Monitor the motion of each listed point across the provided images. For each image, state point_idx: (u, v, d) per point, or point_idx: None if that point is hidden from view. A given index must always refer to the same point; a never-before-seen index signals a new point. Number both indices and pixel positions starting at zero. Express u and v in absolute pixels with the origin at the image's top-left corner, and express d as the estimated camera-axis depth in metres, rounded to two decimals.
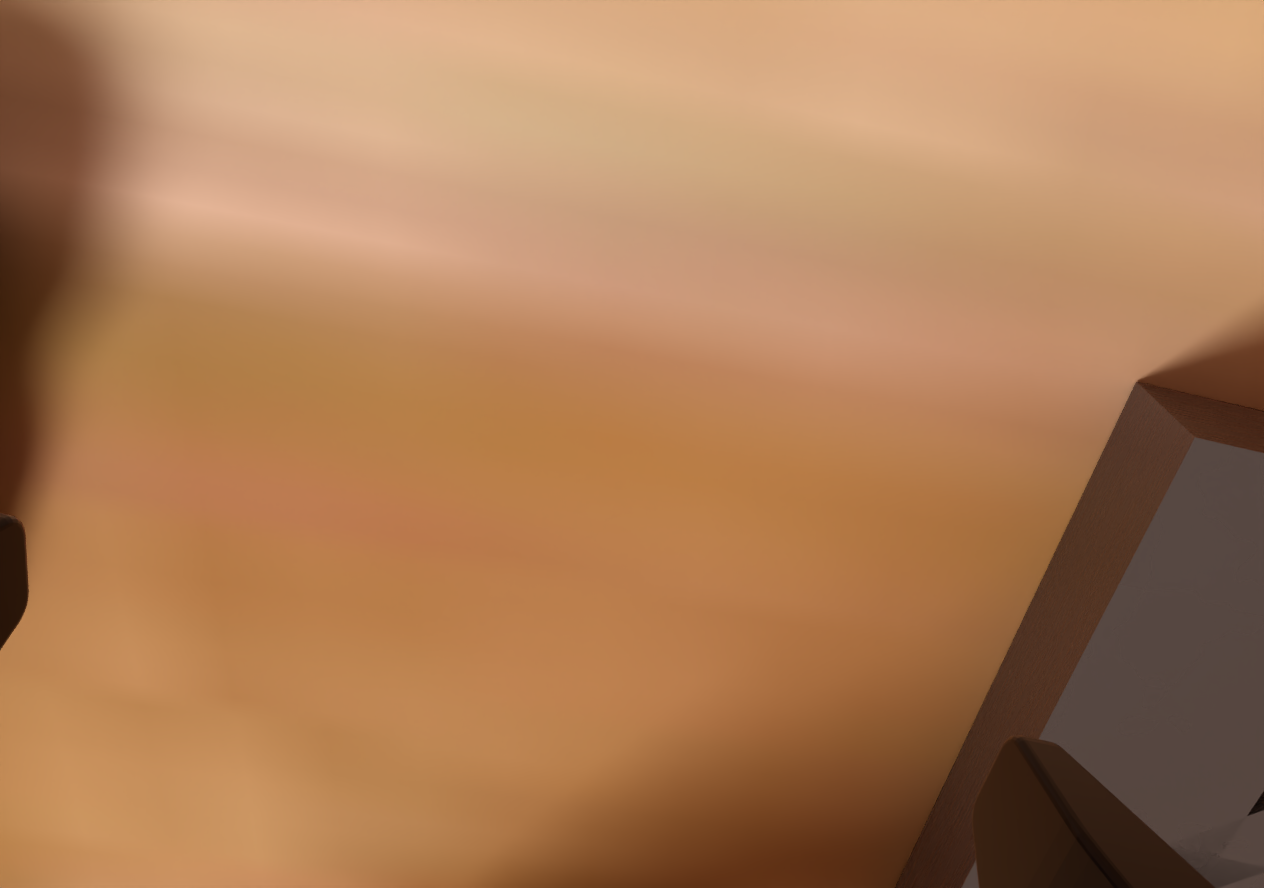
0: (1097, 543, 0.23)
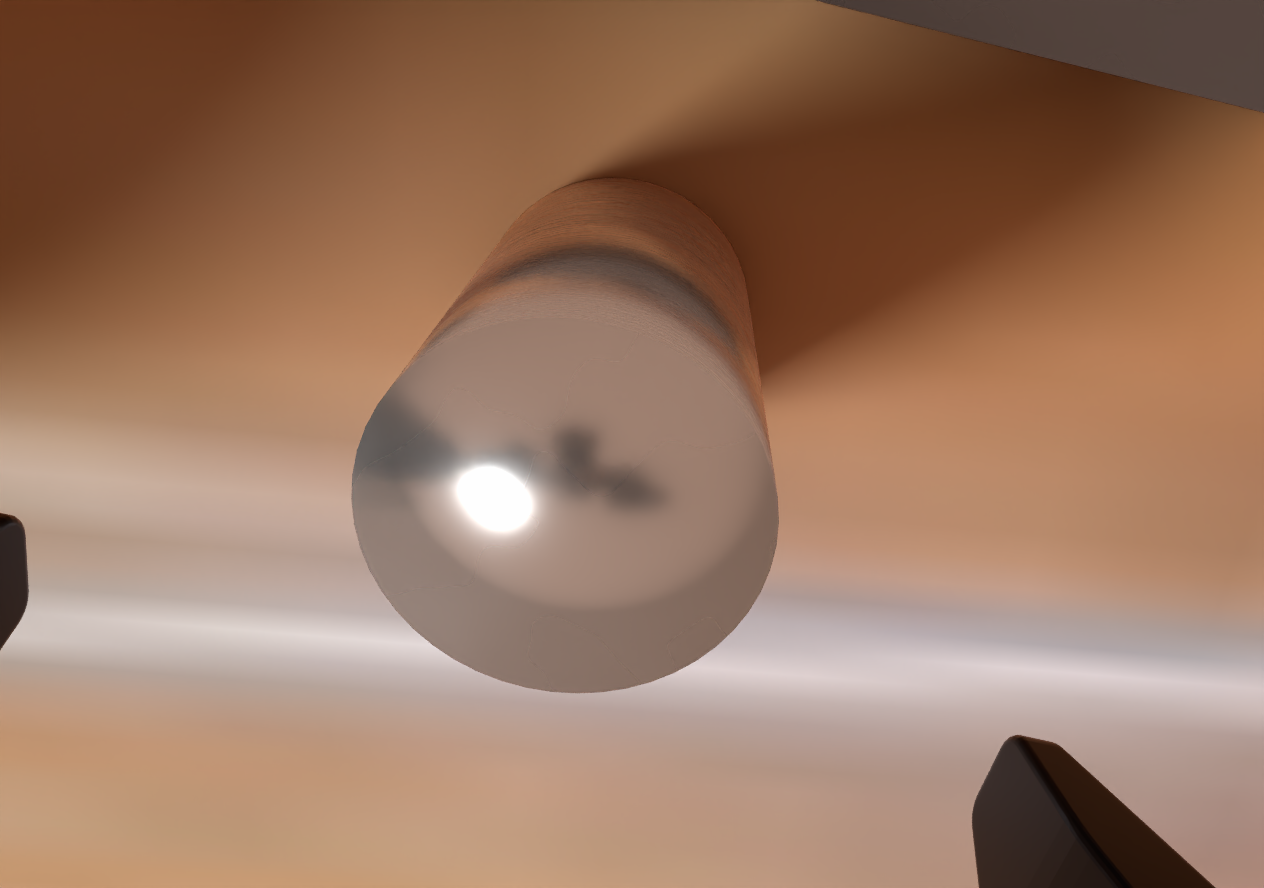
0: None
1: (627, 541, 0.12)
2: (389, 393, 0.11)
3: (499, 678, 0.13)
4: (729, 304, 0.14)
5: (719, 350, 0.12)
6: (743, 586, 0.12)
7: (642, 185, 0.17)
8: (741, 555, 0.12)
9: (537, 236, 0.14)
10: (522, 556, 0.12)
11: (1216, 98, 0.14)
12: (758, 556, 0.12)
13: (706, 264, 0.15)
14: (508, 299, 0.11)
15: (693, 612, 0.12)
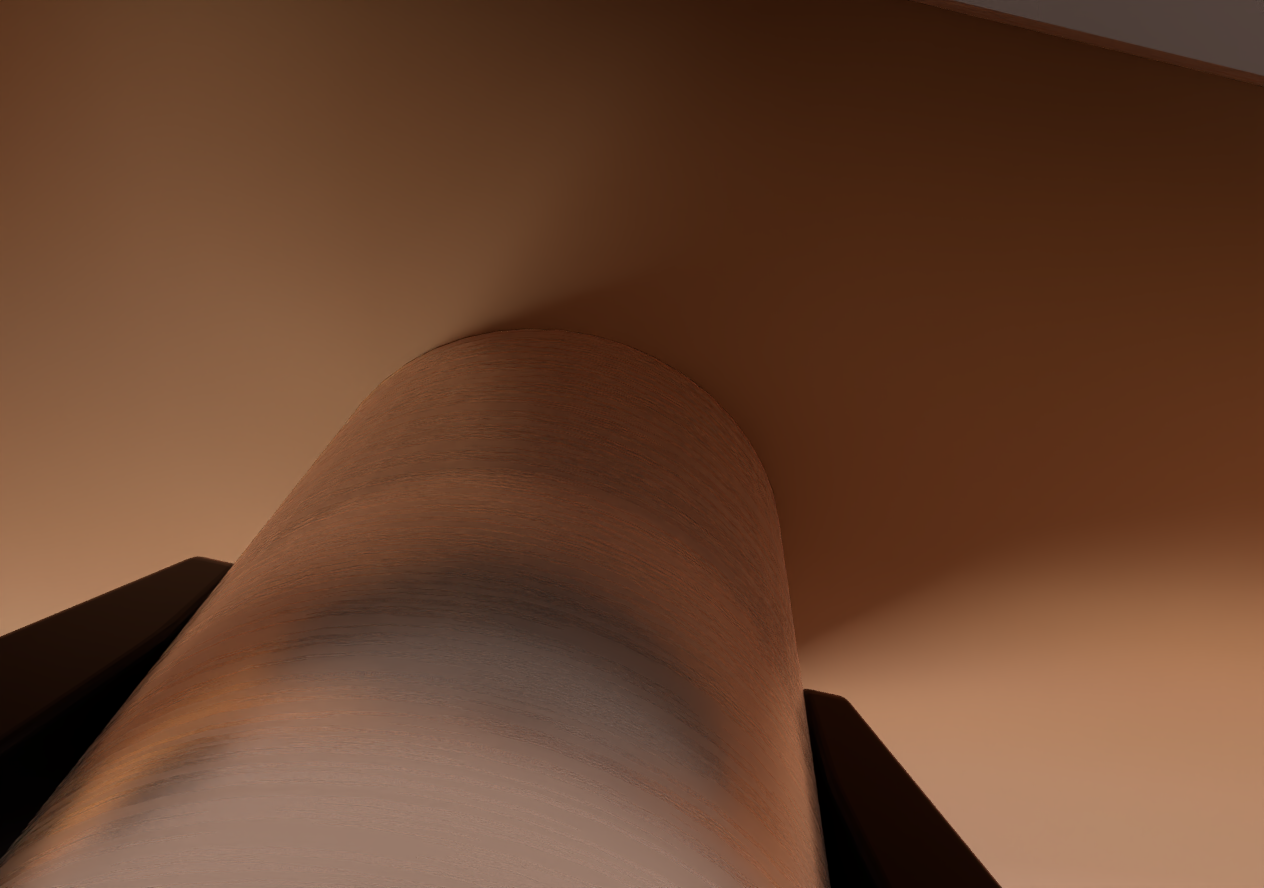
0: None
1: None
2: None
3: None
4: (757, 708, 0.06)
5: None
6: None
7: (585, 349, 0.09)
8: None
9: (320, 544, 0.06)
10: None
11: None
12: None
13: (704, 585, 0.07)
14: None
15: None
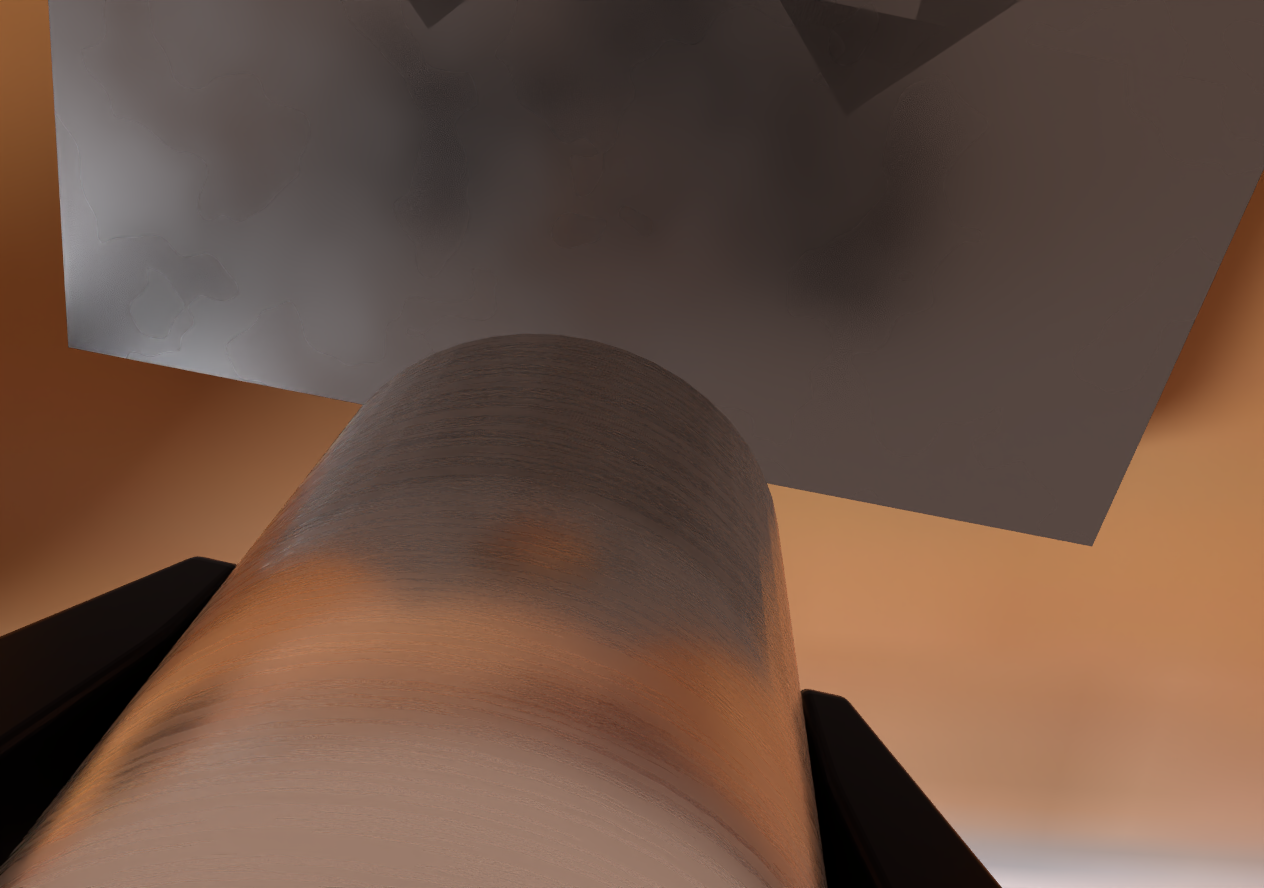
0: None
1: None
2: None
3: None
4: (754, 714, 0.06)
5: None
6: None
7: (584, 353, 0.09)
8: None
9: (319, 550, 0.06)
10: None
11: (953, 518, 0.17)
12: None
13: (702, 590, 0.07)
14: None
15: None
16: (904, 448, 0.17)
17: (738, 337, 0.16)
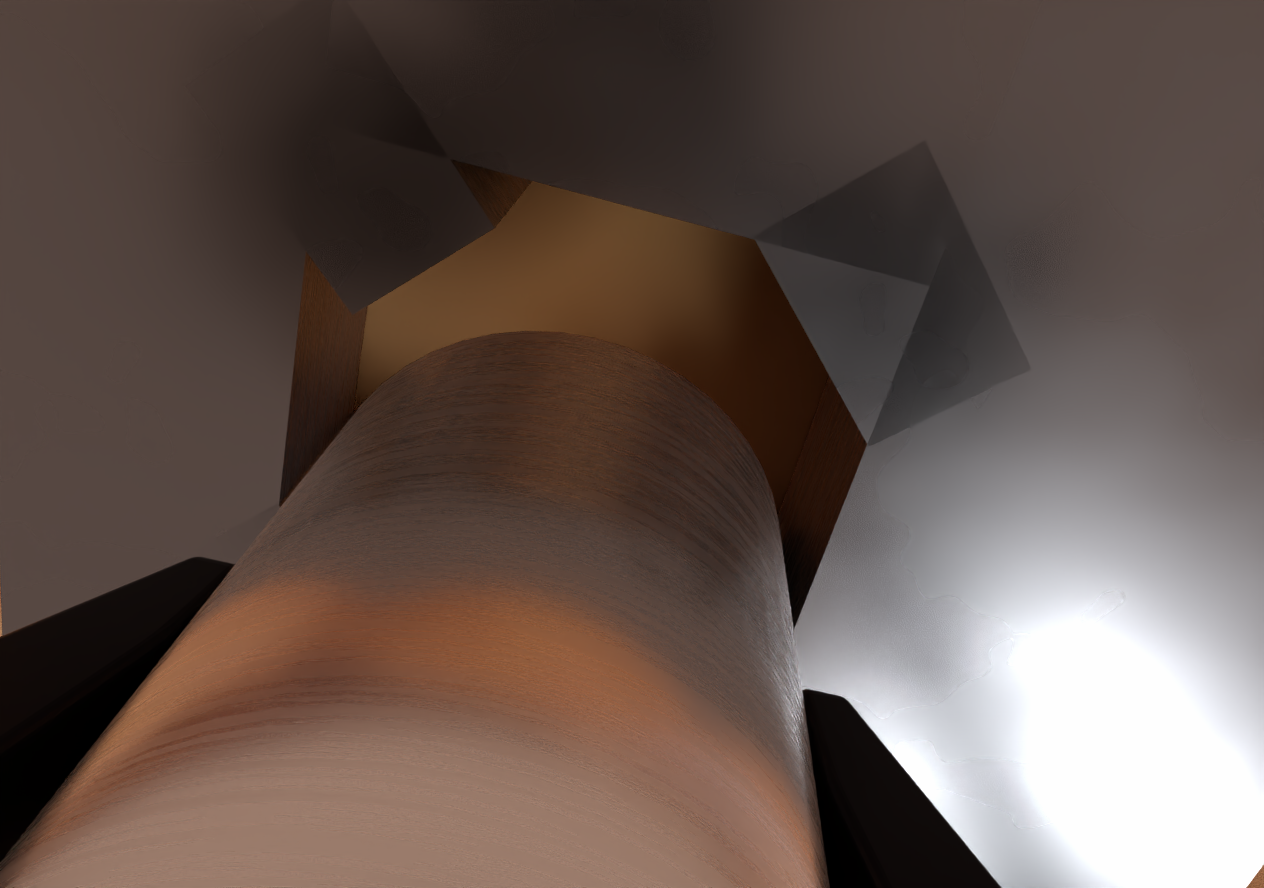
0: None
1: None
2: None
3: None
4: (756, 711, 0.06)
5: None
6: None
7: (584, 350, 0.09)
8: None
9: (318, 547, 0.06)
10: None
11: None
12: None
13: (703, 588, 0.07)
14: None
15: None
16: None
17: None
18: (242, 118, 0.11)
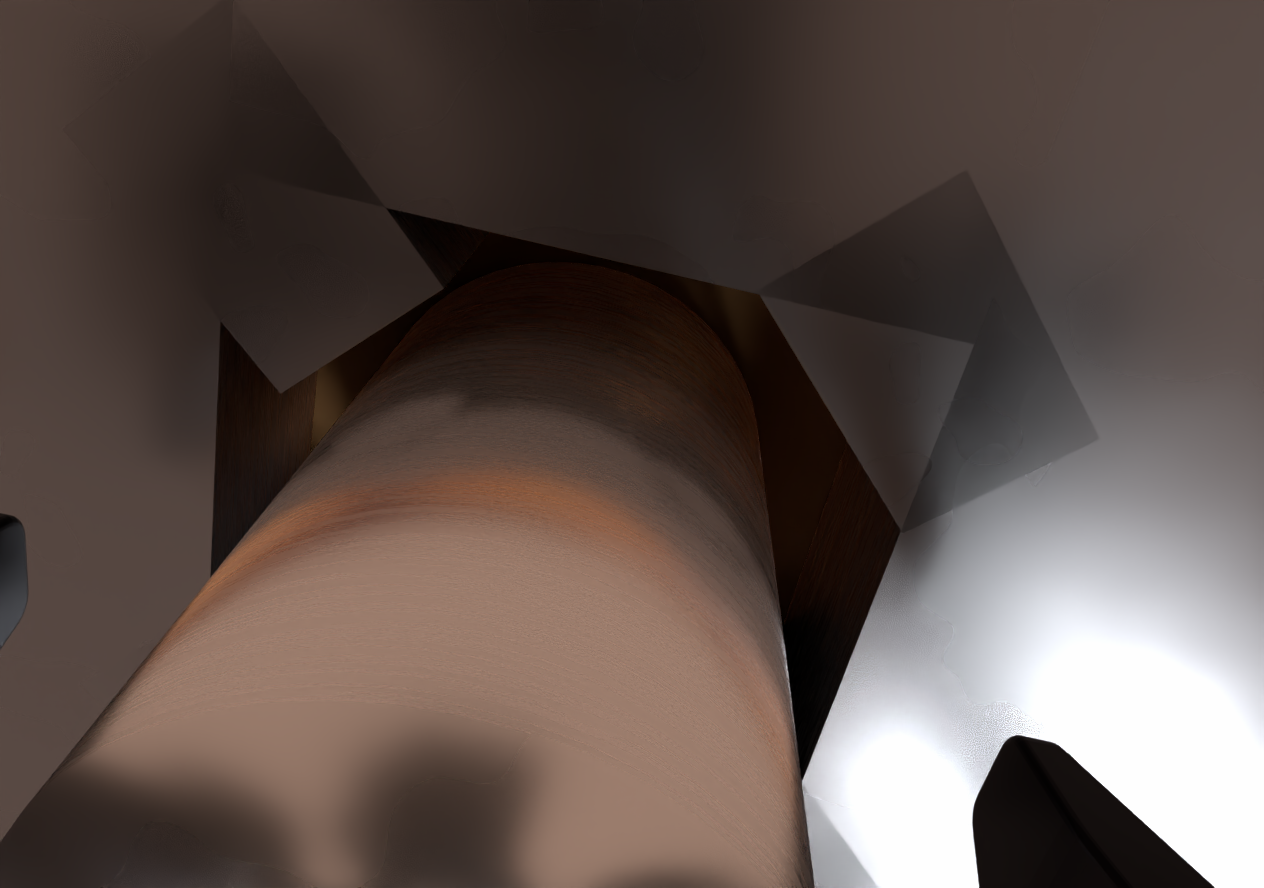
0: None
1: None
2: (18, 826, 0.05)
3: None
4: (730, 511, 0.08)
5: (710, 686, 0.06)
6: None
7: (598, 275, 0.12)
8: None
9: (407, 395, 0.09)
10: None
11: None
12: None
13: (691, 432, 0.09)
14: (282, 605, 0.06)
15: None
16: None
17: None
18: (133, 164, 0.09)
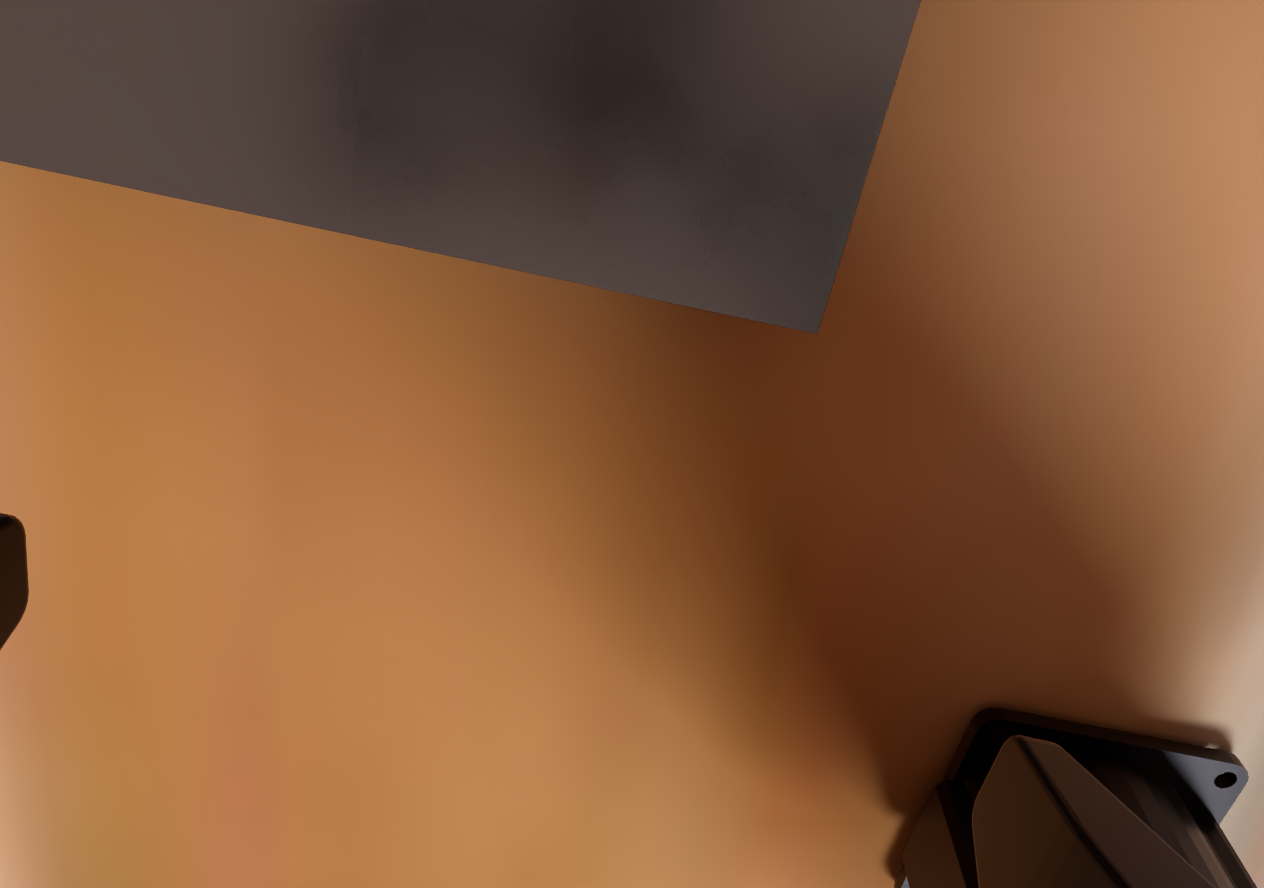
0: None
1: None
2: None
3: None
4: None
5: None
6: None
7: None
8: None
9: None
10: None
11: None
12: None
13: None
14: None
15: None
16: None
17: None
18: None
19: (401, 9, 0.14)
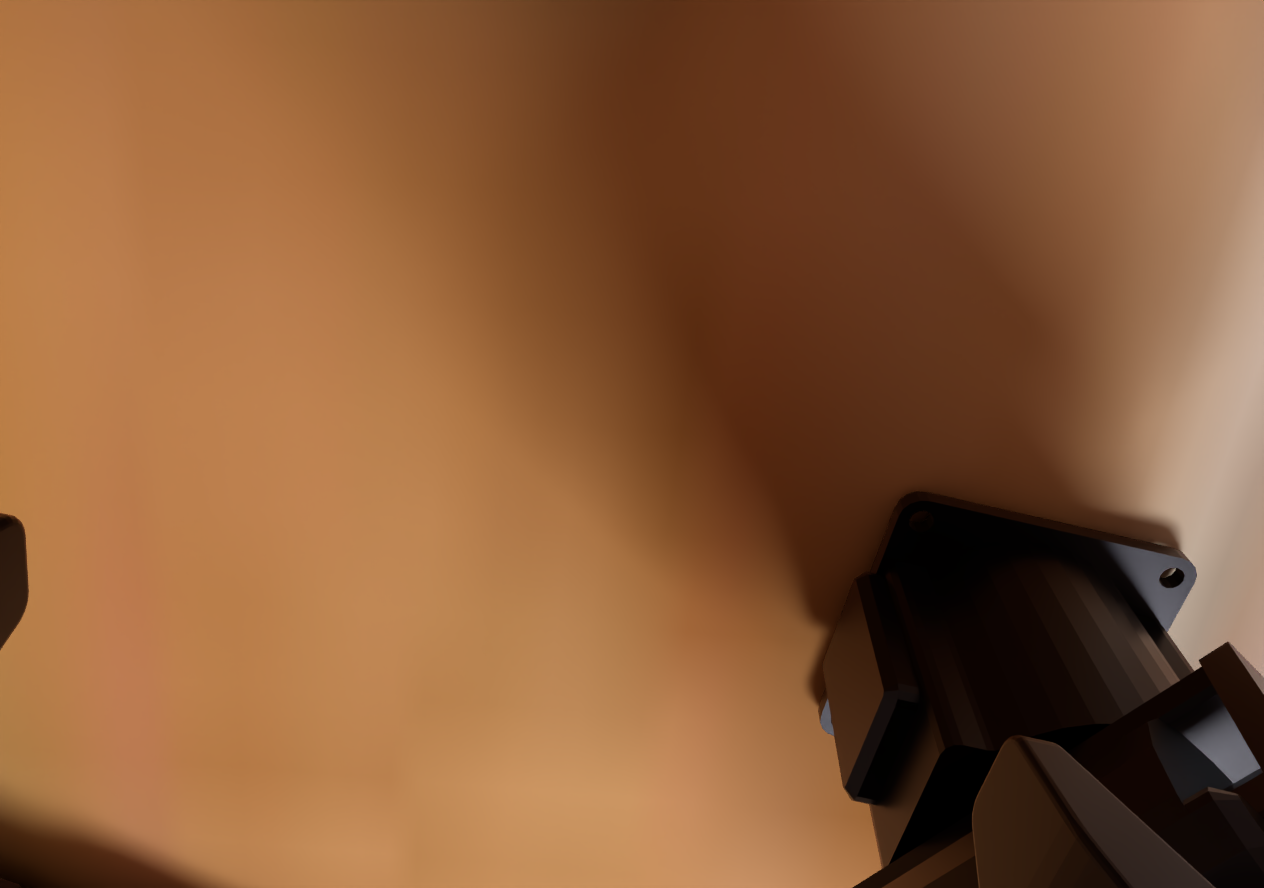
0: None
1: None
2: None
3: None
4: None
5: None
6: None
7: None
8: None
9: None
10: None
11: None
12: None
13: None
14: None
15: None
16: None
17: None
18: None
19: None
